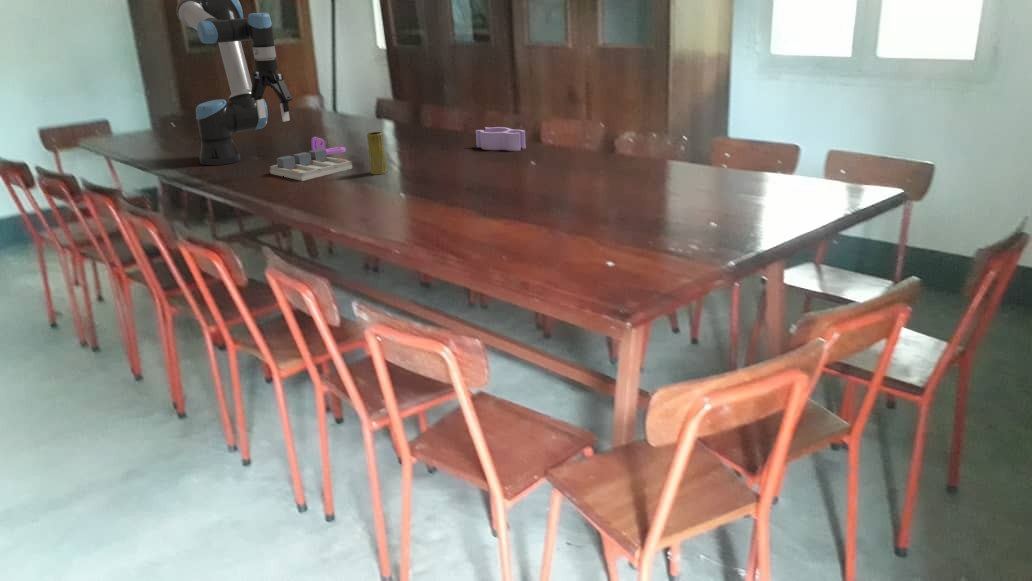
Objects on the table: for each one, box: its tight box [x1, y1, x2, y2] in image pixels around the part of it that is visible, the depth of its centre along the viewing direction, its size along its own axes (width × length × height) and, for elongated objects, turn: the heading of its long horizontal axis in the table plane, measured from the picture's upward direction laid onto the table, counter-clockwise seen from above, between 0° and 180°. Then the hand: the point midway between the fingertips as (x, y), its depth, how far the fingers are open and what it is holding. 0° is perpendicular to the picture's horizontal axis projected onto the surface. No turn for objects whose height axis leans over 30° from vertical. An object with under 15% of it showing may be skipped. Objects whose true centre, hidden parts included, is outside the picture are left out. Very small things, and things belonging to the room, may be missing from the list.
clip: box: [475, 126, 527, 152], centre depth 320 cm, size 20×12×7 cm, turn 57°
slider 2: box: [292, 151, 312, 166], centre depth 297 cm, size 4×5×4 cm
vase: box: [366, 131, 388, 175], centre depth 286 cm, size 6×6×14 cm
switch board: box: [269, 156, 353, 182], centre depth 295 cm, size 20×22×3 cm
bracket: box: [310, 136, 347, 156], centre depth 324 cm, size 13×6×7 cm, turn 125°
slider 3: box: [308, 149, 328, 162], centre depth 302 cm, size 4×5×4 cm
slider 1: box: [276, 155, 296, 169], centre depth 292 cm, size 4×5×4 cm
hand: (274, 119), depth 291 cm, fingers open, 13 cm apart
